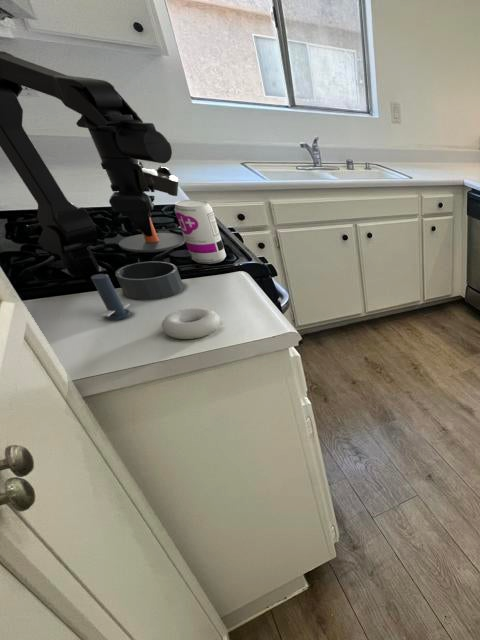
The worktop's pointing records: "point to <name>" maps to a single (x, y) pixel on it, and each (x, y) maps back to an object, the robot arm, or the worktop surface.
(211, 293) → the worktop surface
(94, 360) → the worktop surface
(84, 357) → the worktop surface
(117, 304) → the food processor blade
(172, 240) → the bowl lid
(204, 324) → the donut
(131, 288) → the bowl
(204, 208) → the supplement can
